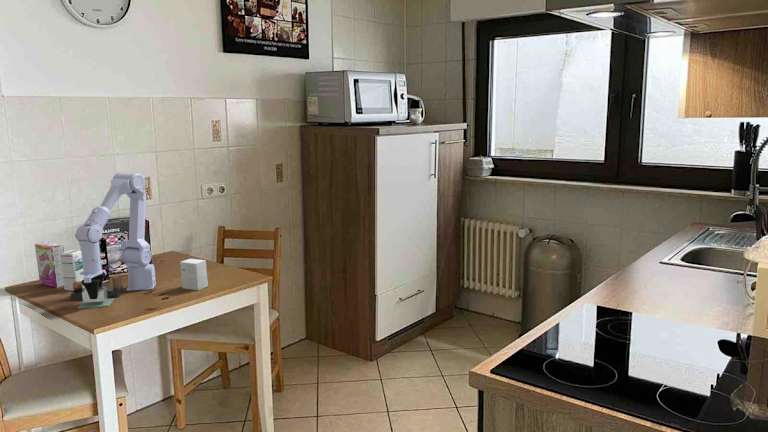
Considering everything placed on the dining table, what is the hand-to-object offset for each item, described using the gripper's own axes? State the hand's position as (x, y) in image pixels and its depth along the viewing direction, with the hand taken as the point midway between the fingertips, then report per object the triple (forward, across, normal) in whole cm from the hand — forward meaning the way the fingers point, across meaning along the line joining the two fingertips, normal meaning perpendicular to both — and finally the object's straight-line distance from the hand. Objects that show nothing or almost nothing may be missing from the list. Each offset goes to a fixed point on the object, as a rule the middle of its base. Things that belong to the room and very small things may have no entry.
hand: (95, 296), depth 204 cm
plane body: (+3, -10, -2) cm, 11 cm away
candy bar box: (+3, -29, -23) cm, 37 cm away
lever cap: (+1, 0, 0) cm, 1 cm away
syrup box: (+3, -22, -13) cm, 26 cm away
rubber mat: (+3, 0, 0) cm, 3 cm away
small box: (+3, -12, +32) cm, 34 cm away
